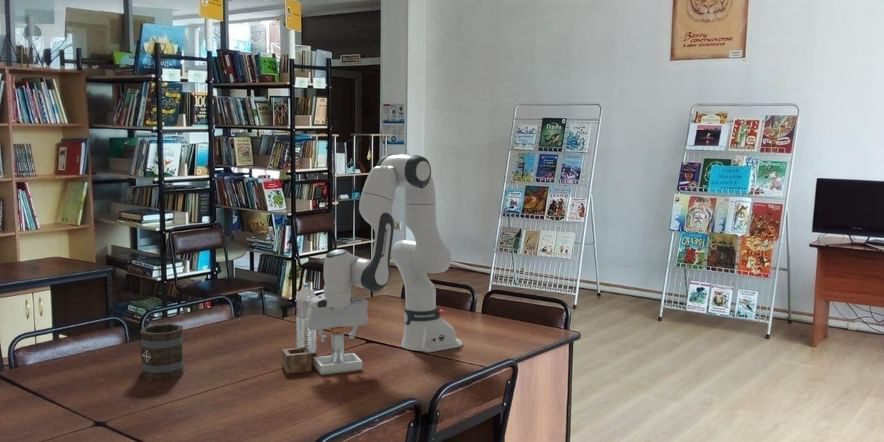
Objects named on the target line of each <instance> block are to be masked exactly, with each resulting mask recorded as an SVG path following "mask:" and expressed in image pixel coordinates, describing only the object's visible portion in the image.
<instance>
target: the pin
mask: <svg viewBox="0 0 884 442" xmlns="http://www.w3.org/2000/svg"><path fill="white" fill-rule="evenodd" d="M345 329H346V327H337V328H329V332H330V333H331V337H330V338H331V355H332V364H335V363H344V354H345V345H344V344H345V341H344V340H345V338H344V336H345V335H344V332H345Z"/></svg>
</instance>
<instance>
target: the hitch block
mask: <svg viewBox="0 0 884 442" xmlns="http://www.w3.org/2000/svg"><path fill="white" fill-rule="evenodd" d="M281 357H282V359H281V360H282V361H281V362H282V363H281V364H282V366H281V367H282V368H283V370H284V372H285V373H286V374H287V375H288V374H297V373H306V372H311V371H312V355H311V353H310V351H309V350H308V349H307V348H306V347H300V348H297V347H291V348H283V349H281Z"/></svg>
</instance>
